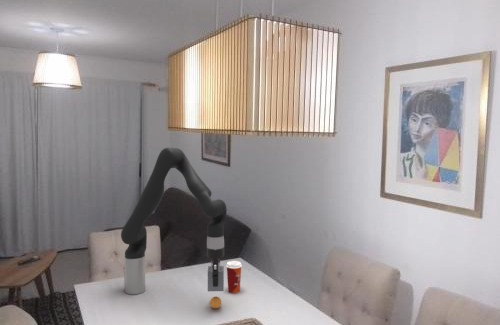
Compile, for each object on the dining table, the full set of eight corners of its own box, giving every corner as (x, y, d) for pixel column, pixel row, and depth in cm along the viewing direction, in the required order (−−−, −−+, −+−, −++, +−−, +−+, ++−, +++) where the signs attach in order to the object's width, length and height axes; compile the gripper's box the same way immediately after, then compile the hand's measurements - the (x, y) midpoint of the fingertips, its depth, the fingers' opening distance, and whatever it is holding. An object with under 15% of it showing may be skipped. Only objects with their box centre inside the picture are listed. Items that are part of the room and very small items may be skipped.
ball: (221, 310, 173) (209, 310, 173) (221, 299, 176) (210, 299, 176) (221, 305, 169) (209, 305, 169) (221, 294, 173) (209, 294, 173)
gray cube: (207, 291, 169) (207, 271, 168) (208, 285, 175) (208, 266, 175) (223, 291, 169) (223, 271, 168) (223, 285, 176) (223, 265, 175)
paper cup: (239, 295, 187) (240, 266, 186) (224, 293, 188) (224, 265, 187) (243, 288, 194) (243, 260, 193) (228, 287, 196) (228, 259, 195)
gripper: (207, 241, 178) (207, 277, 179) (206, 251, 163) (206, 289, 165) (224, 241, 178) (224, 276, 179) (224, 250, 164) (224, 289, 165)
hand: (215, 283), depth 172 cm, fingers closed on gray cube, 7 cm apart
